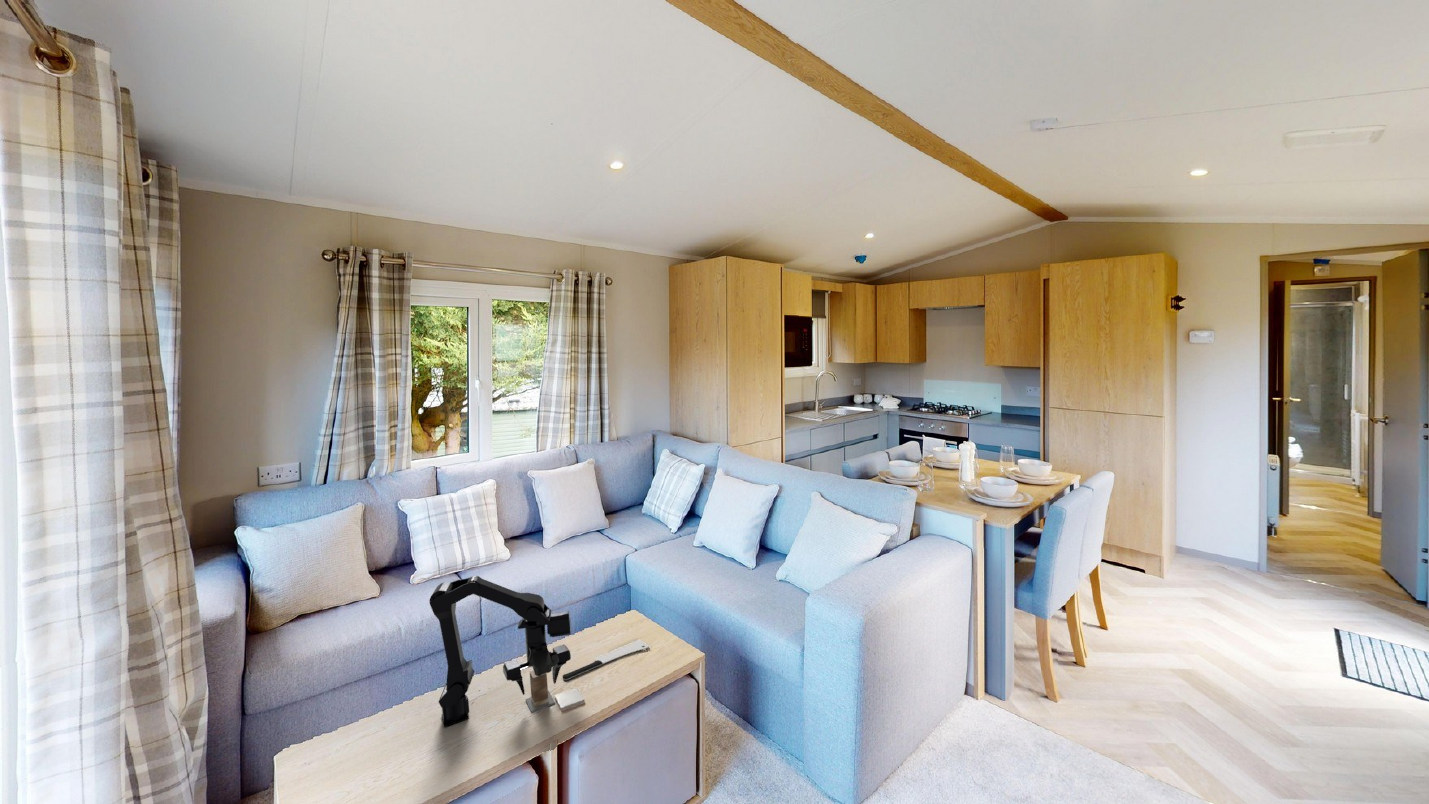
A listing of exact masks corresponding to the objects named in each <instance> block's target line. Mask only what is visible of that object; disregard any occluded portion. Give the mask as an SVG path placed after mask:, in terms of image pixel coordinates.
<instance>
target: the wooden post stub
mask: <svg viewBox="0 0 1429 804" xmlns="http://www.w3.org/2000/svg"><path fill="white" fill-rule="evenodd" d="M547 676H548V675H547V673H545V674H542V675H540V676H536V675H535V673H534V670H531V671H529V682H530V684H529V685H530V695H531V696H530V697H531V700H532V702H533V704H534V706H535V707H536V706H539V705H542V704H544V703H547V702H549V698H548V691H549V689H548V677H547Z"/></svg>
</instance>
